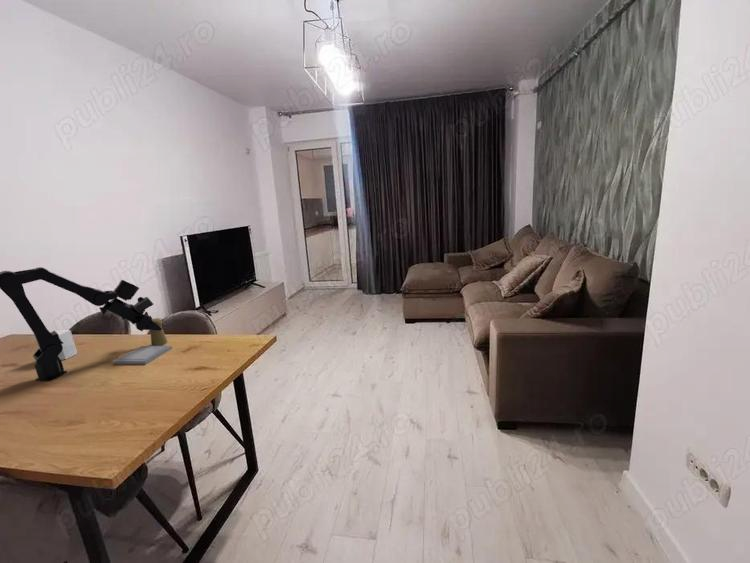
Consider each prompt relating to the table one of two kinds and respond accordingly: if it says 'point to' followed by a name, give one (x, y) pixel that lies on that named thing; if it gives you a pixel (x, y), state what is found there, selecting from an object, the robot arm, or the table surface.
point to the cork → (158, 334)
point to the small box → (66, 344)
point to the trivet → (142, 355)
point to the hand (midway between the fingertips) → (160, 328)
